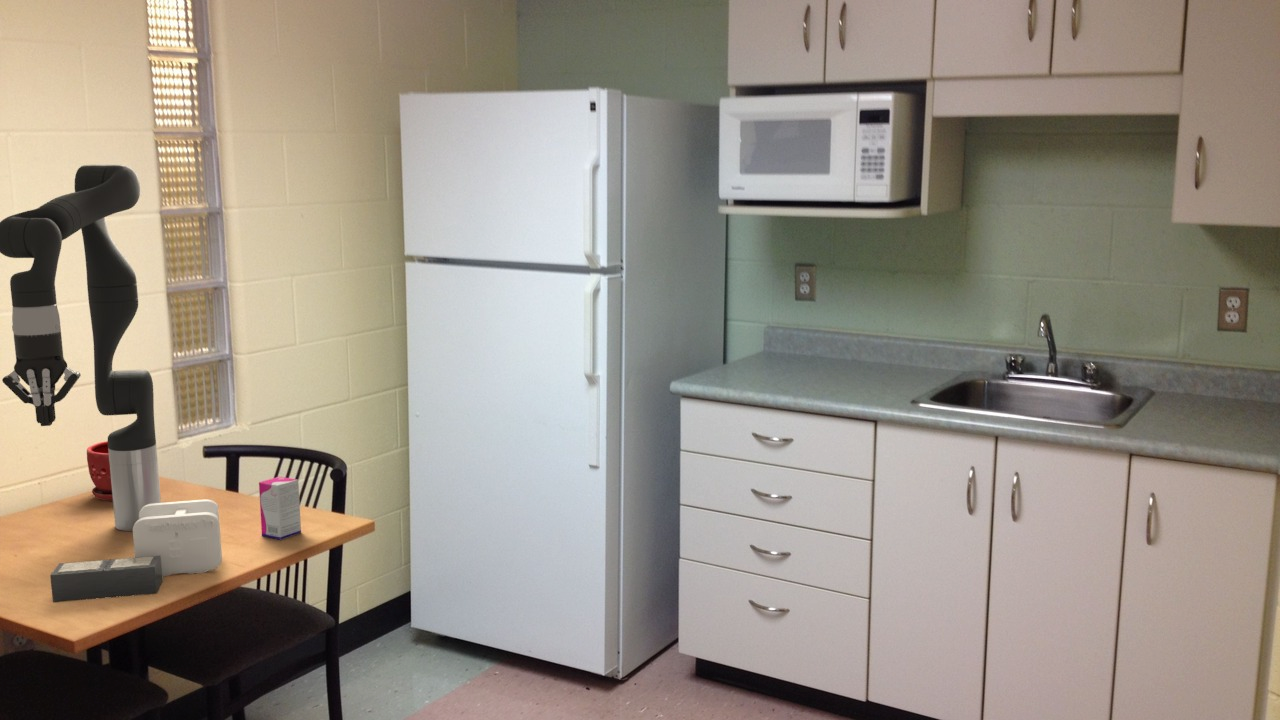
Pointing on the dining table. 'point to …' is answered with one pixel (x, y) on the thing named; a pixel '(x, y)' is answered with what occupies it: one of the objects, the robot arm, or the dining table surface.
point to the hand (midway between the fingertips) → (46, 424)
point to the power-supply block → (106, 578)
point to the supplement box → (280, 508)
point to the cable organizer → (180, 535)
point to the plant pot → (100, 470)
